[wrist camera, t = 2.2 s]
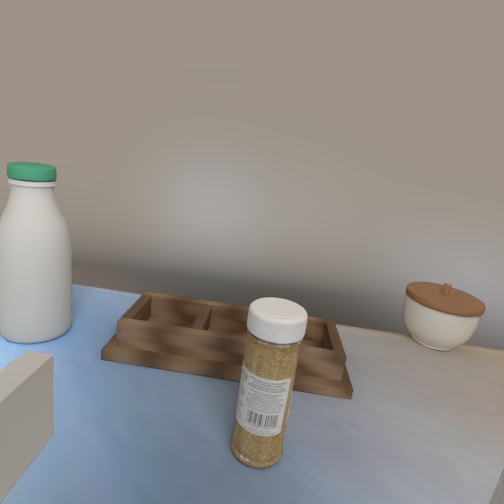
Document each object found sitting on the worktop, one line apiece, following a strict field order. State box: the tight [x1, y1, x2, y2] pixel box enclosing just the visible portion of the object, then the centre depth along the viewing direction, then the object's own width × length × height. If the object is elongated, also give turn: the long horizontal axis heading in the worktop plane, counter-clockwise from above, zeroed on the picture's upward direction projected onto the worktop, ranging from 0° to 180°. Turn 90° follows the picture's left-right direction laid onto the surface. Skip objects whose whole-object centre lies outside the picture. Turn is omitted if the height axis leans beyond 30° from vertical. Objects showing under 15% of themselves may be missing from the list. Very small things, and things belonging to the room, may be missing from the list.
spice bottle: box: [231, 297, 308, 468], centre depth 30 cm, size 5×5×14 cm
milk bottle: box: [0, 162, 72, 344], centre depth 42 cm, size 8×8×20 cm
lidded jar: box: [403, 282, 485, 351], centre depth 56 cm, size 11×11×9 cm
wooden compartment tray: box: [101, 291, 353, 399], centre depth 46 cm, size 28×12×4 cm, turn 86°
